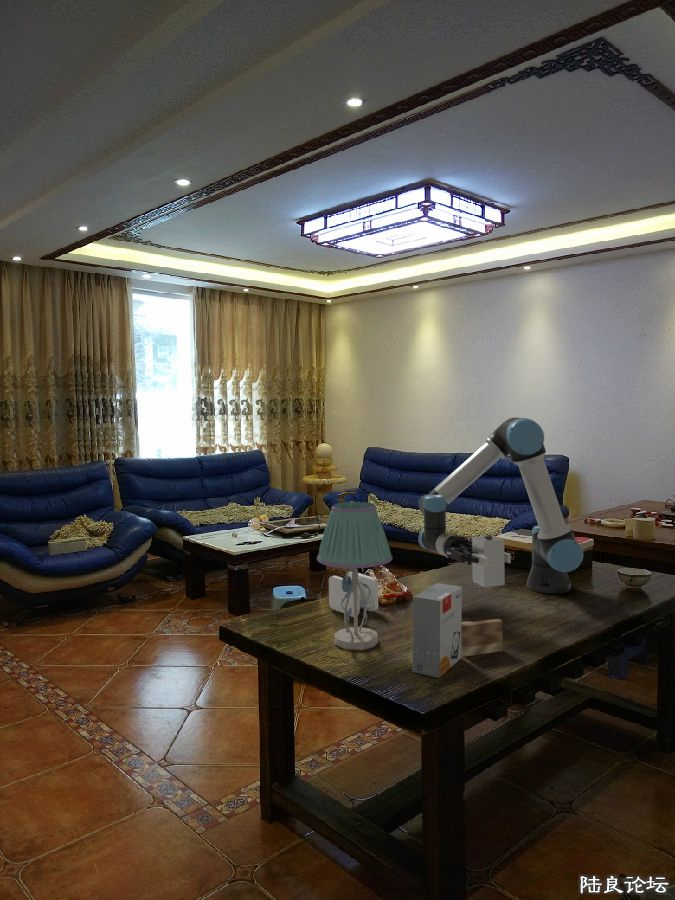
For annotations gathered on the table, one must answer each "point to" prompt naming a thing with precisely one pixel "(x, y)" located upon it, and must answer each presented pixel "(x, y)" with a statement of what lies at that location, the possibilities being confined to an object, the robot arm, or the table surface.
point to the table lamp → (354, 561)
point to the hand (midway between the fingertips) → (498, 560)
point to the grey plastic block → (338, 595)
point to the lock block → (489, 560)
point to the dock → (481, 637)
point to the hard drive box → (436, 629)
